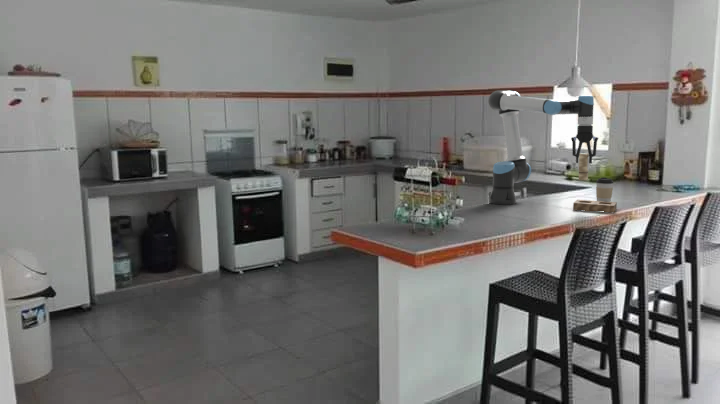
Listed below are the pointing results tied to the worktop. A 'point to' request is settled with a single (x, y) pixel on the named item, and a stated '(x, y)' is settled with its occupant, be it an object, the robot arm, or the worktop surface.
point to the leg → (583, 166)
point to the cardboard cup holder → (594, 205)
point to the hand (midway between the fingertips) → (583, 169)
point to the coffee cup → (604, 189)
